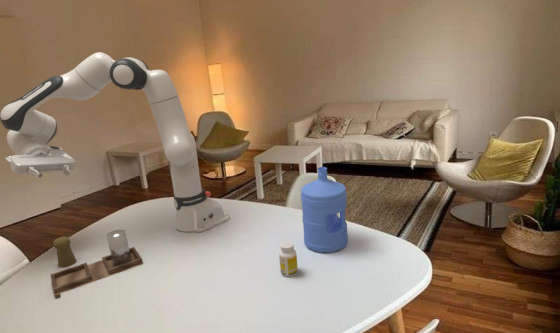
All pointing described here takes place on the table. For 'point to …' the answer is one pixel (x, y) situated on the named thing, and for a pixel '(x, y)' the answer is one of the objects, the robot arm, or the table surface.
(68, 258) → the cork
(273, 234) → the table surface
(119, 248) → the steel cylinder
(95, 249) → the table surface
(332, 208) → the water jug
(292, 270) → the supplement bottle
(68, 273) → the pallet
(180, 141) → the robot arm
